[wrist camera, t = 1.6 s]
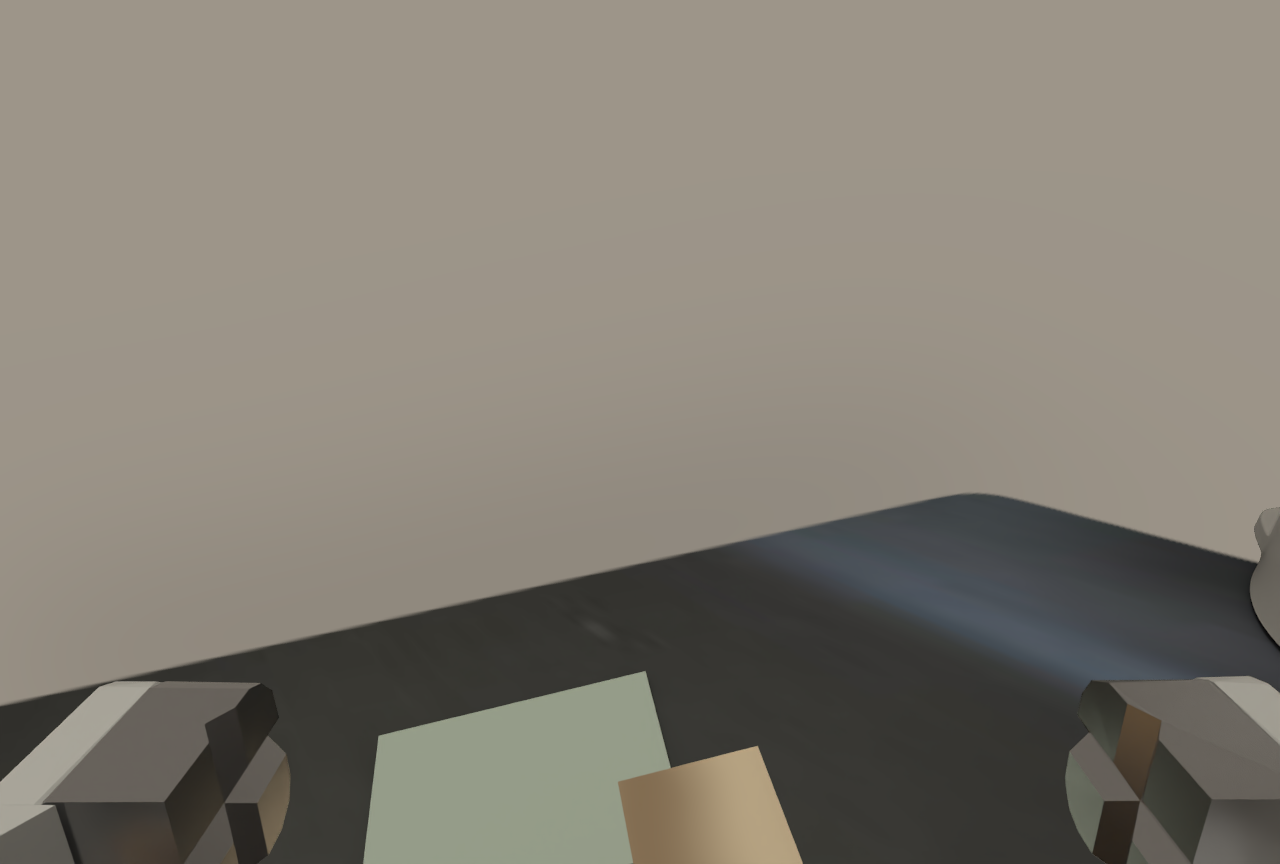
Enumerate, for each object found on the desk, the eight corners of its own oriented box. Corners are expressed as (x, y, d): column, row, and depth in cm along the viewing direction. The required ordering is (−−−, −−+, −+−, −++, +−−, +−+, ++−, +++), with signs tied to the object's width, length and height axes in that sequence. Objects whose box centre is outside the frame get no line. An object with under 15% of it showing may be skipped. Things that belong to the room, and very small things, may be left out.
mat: (646, 679, 42) (645, 671, 41) (692, 855, 33) (691, 847, 33) (382, 743, 40) (378, 735, 40) (358, 945, 32) (354, 937, 32)
